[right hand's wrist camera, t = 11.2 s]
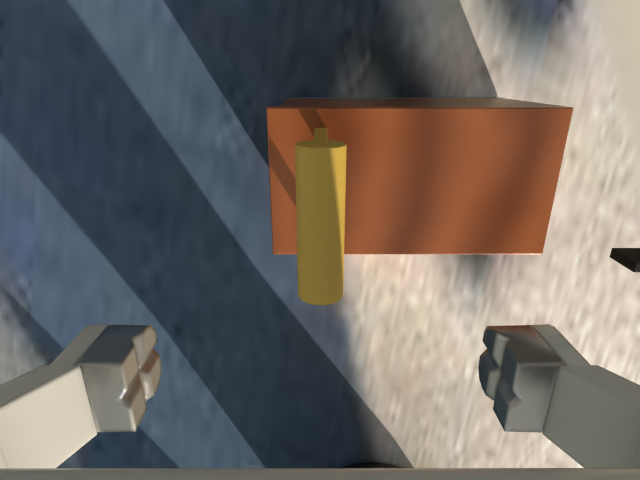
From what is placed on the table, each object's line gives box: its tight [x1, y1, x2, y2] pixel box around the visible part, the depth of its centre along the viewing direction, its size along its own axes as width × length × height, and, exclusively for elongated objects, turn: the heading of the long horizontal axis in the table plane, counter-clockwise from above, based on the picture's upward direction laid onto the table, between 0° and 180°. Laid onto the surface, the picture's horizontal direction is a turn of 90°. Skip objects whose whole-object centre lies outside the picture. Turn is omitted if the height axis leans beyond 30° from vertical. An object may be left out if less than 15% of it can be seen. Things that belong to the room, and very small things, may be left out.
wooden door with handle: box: [266, 106, 573, 305], centre depth 22 cm, size 18×9×9 cm, turn 90°
